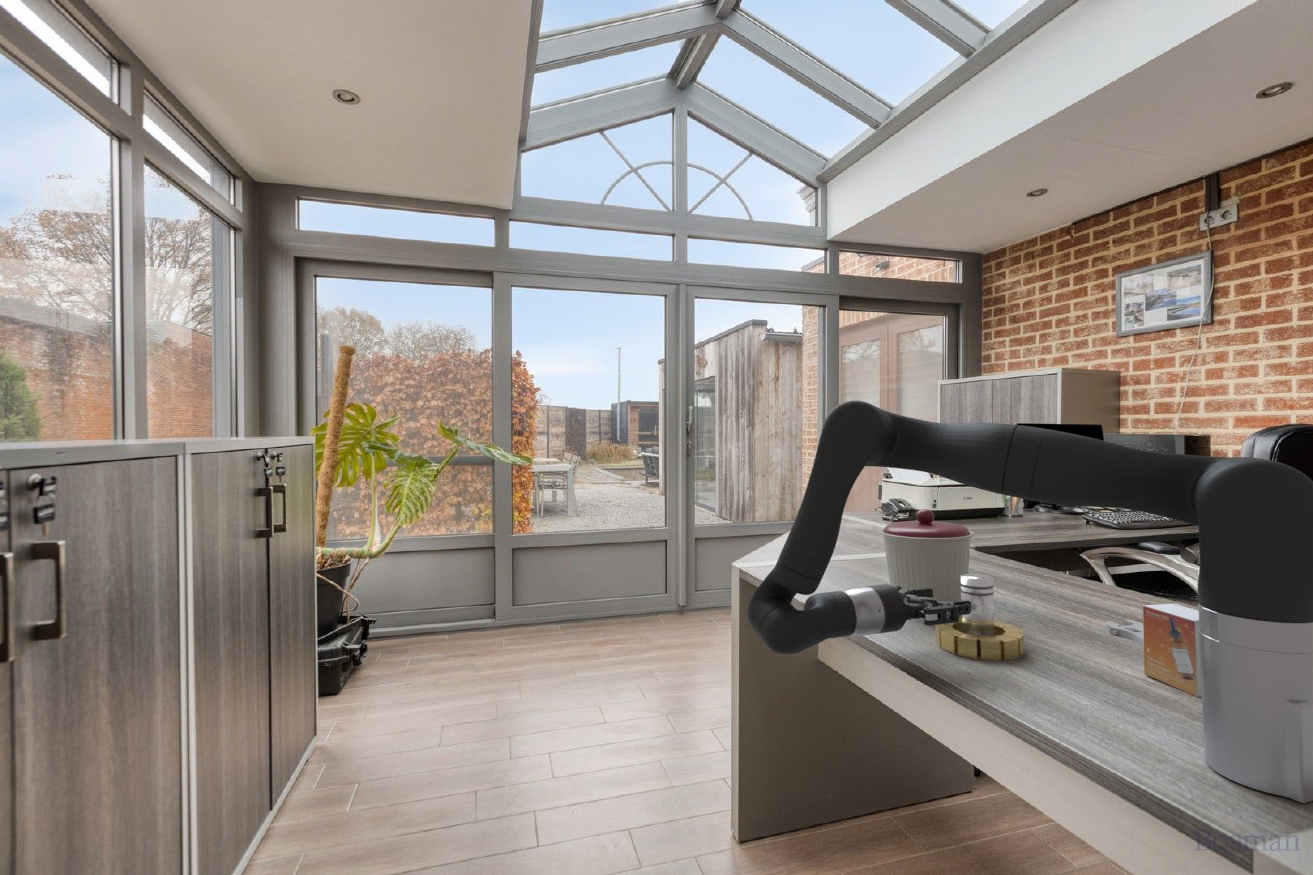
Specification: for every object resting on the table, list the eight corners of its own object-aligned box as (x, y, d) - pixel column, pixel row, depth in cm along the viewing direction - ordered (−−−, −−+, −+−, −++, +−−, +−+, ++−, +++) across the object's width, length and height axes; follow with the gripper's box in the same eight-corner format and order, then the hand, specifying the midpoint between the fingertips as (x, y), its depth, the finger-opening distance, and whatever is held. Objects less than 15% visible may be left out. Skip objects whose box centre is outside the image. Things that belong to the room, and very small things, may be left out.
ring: (1043, 653, 99) (1042, 635, 99) (979, 664, 95) (978, 645, 95) (978, 630, 112) (977, 614, 112) (920, 639, 108) (919, 622, 108)
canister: (874, 597, 136) (871, 505, 136) (959, 598, 133) (955, 503, 133) (893, 622, 118) (889, 515, 118) (991, 623, 115) (987, 514, 116)
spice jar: (1002, 649, 101) (1000, 578, 102) (979, 653, 100) (976, 581, 100) (978, 639, 106) (976, 572, 106) (955, 643, 105) (953, 575, 105)
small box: (1143, 675, 89) (1140, 604, 89) (1177, 672, 90) (1174, 602, 90) (1196, 698, 81) (1194, 620, 81) (1234, 694, 82) (1231, 617, 82)
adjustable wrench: (1214, 683, 87) (1213, 671, 87) (1159, 679, 89) (1159, 667, 89) (1140, 629, 110) (1140, 619, 110) (1099, 627, 112) (1099, 617, 112)
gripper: (896, 597, 90) (982, 587, 95) (841, 577, 104) (919, 569, 109) (898, 647, 90) (984, 634, 95) (843, 620, 104) (920, 610, 109)
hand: (949, 599), depth 102 cm, fingers open, 8 cm apart
